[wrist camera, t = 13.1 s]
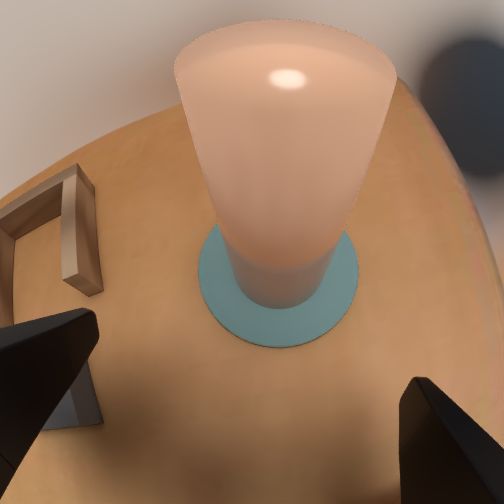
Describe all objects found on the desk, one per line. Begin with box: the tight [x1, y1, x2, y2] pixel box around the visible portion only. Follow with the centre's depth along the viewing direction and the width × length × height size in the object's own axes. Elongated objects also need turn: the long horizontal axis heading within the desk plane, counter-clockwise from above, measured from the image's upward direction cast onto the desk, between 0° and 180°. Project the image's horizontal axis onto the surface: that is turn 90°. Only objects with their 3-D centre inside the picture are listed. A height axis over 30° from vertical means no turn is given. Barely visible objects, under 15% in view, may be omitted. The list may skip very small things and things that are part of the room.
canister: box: [174, 19, 397, 309], centre depth 11 cm, size 5×5×12 cm
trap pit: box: [41, 361, 104, 431], centre depth 13 cm, size 6×6×2 cm
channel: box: [0, 163, 103, 328], centre depth 17 cm, size 9×10×3 cm
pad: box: [198, 223, 358, 348], centre depth 16 cm, size 9×9×1 cm
